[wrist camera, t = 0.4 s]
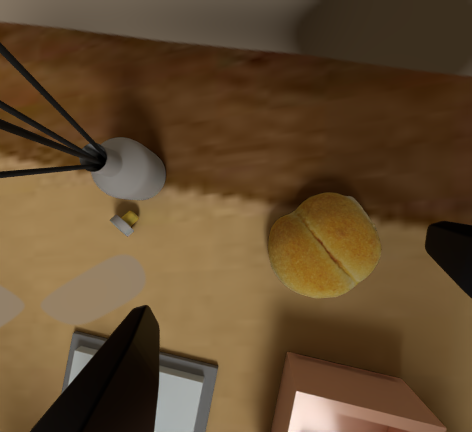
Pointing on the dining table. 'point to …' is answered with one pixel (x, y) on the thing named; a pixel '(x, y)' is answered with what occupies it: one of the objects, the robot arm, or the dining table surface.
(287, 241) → the bread roll
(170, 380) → the lid
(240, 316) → the dining table surface
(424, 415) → the pink open box
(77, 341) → the mat
